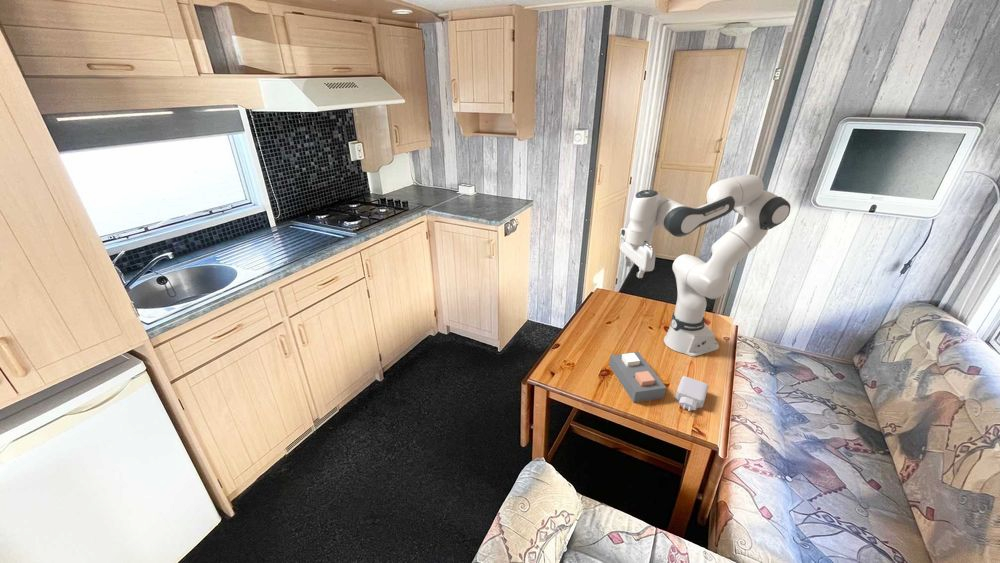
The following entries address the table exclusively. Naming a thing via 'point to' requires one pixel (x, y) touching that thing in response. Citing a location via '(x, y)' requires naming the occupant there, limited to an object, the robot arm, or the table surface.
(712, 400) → the table surface
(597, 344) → the table surface
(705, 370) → the table surface
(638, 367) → the console
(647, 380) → the terracotta key
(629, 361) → the white key
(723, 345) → the table surface
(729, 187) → the robot arm
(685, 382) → the charger
